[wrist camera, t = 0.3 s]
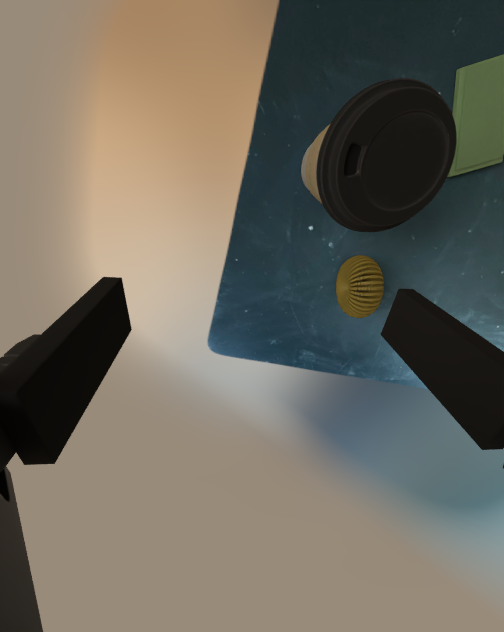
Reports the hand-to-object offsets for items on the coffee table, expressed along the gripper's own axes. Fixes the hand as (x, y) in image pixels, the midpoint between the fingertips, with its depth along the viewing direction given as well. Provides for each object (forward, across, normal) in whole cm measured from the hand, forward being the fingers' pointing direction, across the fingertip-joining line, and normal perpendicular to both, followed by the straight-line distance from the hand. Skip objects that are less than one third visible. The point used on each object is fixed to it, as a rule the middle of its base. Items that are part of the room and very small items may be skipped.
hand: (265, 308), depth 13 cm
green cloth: (+23, +26, +12) cm, 36 cm away
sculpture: (+23, +15, -7) cm, 28 cm away
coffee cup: (+23, +9, +6) cm, 26 cm away
